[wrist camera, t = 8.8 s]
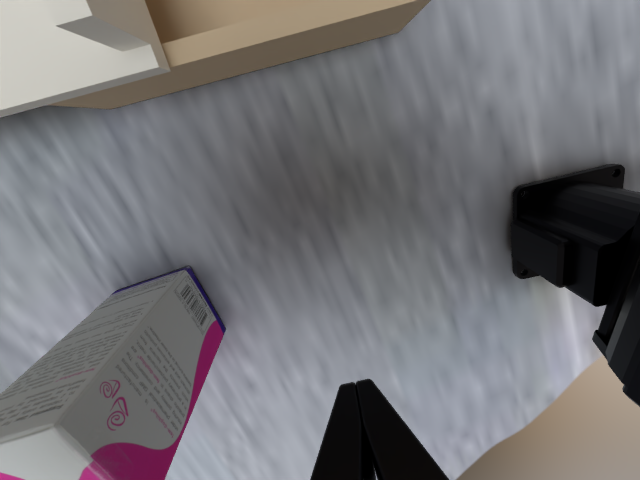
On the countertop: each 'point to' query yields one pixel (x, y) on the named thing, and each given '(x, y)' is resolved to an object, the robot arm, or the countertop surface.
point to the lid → (73, 49)
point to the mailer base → (249, 39)
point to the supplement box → (114, 387)
